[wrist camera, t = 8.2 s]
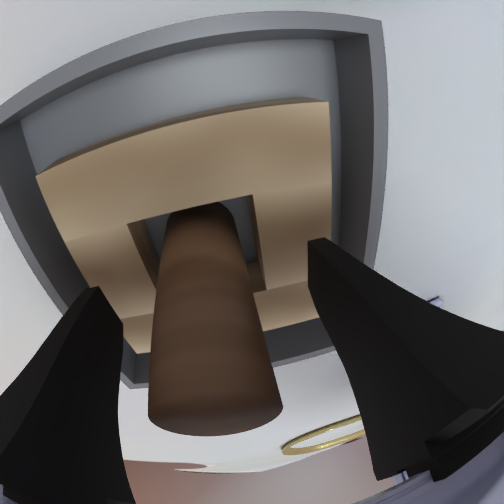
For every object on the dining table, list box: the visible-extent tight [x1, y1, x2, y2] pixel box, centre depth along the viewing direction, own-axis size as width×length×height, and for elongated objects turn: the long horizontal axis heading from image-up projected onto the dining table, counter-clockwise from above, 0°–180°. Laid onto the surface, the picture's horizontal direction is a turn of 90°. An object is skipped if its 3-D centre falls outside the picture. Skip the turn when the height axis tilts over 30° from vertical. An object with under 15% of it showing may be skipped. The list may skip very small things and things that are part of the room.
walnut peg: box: [148, 202, 283, 436], centre depth 8 cm, size 3×3×8 cm
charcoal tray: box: [0, 11, 388, 389], centre depth 11 cm, size 16×14×3 cm
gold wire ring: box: [282, 415, 366, 455], centre depth 42 cm, size 19×35×2 cm, turn 92°
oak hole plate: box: [35, 97, 332, 354], centre depth 11 cm, size 10×10×2 cm
